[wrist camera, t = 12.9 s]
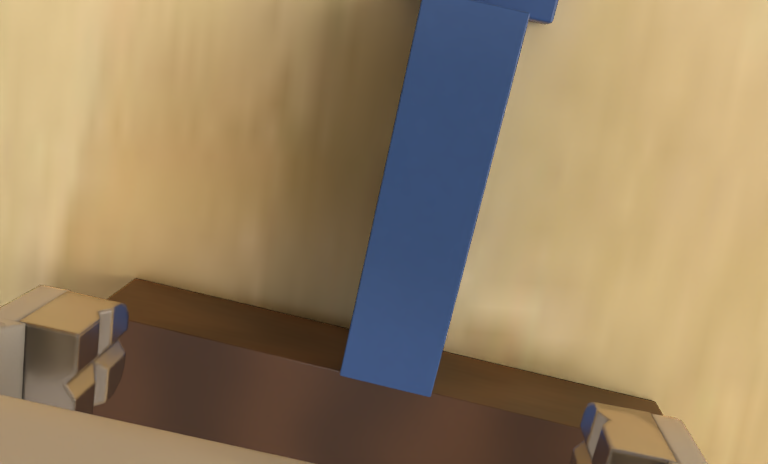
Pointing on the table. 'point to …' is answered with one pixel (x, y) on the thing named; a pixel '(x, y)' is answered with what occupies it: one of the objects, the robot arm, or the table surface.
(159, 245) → the table surface
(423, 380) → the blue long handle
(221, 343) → the chopping board
